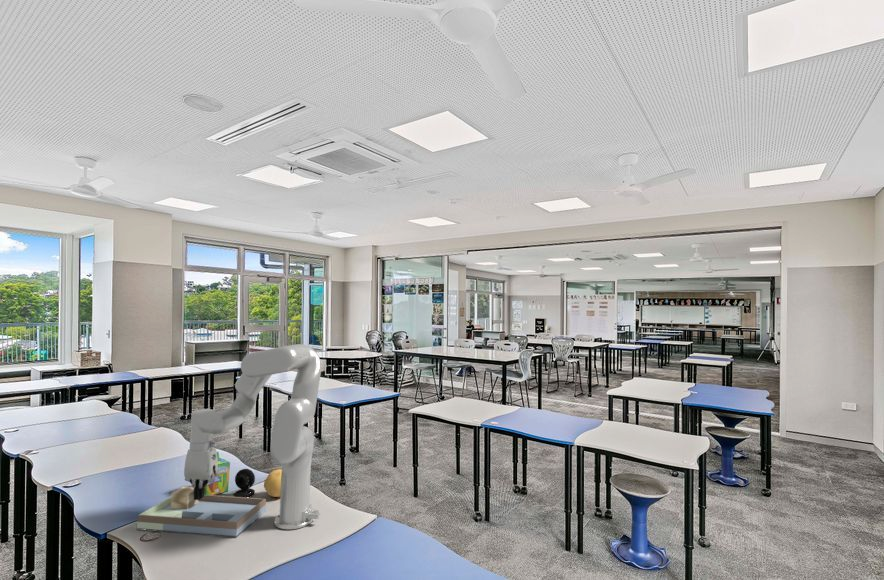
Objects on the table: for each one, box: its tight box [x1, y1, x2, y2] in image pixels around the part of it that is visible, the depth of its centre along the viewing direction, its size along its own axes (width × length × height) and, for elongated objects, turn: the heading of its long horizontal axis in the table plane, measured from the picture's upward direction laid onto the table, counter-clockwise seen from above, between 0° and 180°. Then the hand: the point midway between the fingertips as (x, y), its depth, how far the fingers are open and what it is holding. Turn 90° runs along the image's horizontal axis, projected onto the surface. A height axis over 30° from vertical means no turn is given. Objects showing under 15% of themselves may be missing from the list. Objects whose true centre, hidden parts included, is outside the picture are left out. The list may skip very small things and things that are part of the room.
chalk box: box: [204, 451, 231, 496], centre depth 170 cm, size 9×9×15 cm
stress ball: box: [263, 468, 282, 498], centre depth 167 cm, size 10×10×10 cm
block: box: [170, 486, 198, 509], centre depth 152 cm, size 6×6×5 cm
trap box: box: [136, 494, 267, 539], centre depth 146 cm, size 34×18×4 cm, turn 84°
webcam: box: [233, 468, 256, 498], centre depth 167 cm, size 8×8×10 cm
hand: (198, 498), depth 151 cm, fingers closed
